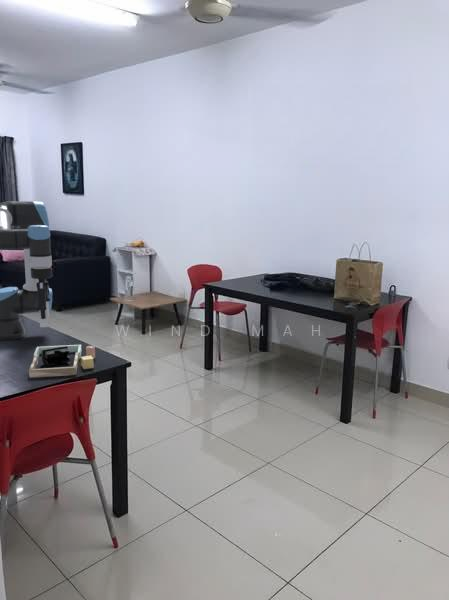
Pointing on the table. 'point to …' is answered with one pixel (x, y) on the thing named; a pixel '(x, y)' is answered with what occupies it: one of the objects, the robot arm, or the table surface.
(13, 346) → the table surface
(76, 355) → the beige wooden tray
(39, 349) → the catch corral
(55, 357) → the black lumpy piece
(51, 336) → the table surface
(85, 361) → the mustard block
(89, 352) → the pinkish brown cylinder
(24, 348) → the table surface
